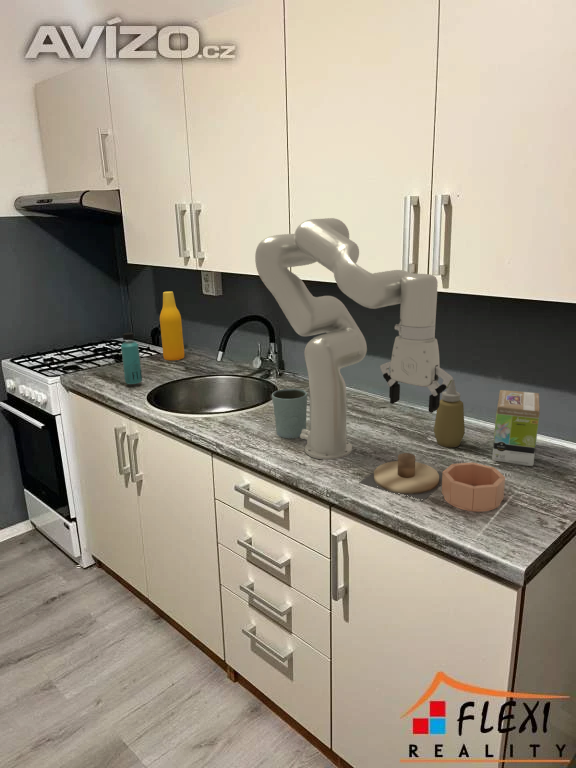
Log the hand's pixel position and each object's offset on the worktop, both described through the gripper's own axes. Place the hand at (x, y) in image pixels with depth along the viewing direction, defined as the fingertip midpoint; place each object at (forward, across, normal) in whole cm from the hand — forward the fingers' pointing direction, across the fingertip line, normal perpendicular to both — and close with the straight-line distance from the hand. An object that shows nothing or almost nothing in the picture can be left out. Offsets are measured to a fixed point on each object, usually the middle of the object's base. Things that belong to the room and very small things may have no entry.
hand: (413, 406), depth 132 cm
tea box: (+19, +13, +30) cm, 38 cm away
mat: (+19, -1, 0) cm, 19 cm away
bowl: (+18, +15, 0) cm, 24 cm away
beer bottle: (+21, -140, +45) cm, 149 cm away
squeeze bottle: (+19, -2, +26) cm, 32 cm away
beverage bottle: (+21, -121, +9) cm, 123 cm away
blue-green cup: (+20, -42, +7) cm, 47 cm away
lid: (+18, -1, 0) cm, 18 cm away
